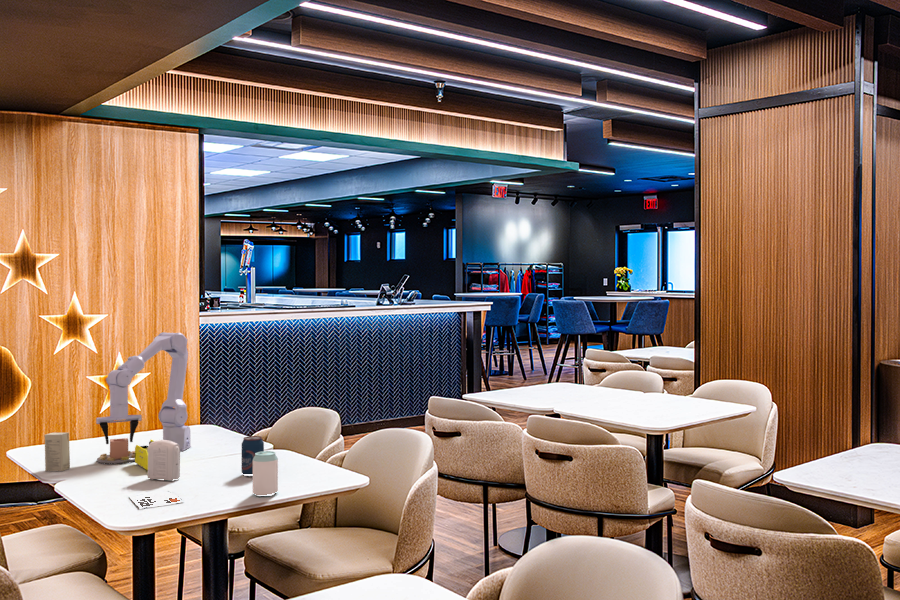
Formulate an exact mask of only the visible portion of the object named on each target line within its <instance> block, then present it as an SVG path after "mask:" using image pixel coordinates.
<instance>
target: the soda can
mask: <svg viewBox="0 0 900 600" xmlns="http://www.w3.org/2000/svg"><path fill="white" fill-rule="evenodd" d="M264 444H265V442H264V440H263V437H262V436H259V435H256V436H255V435H254V436H253V435H249V436H245V437H243V440H242V442H241V474H242V473H243V474H253V458H254V456H255V453H257V452H263V451H265V447H264V446H265V445H264ZM243 474H242V475H243Z"/></svg>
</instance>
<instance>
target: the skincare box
mask: <svg viewBox="0 0 900 600" xmlns="http://www.w3.org/2000/svg"><path fill="white" fill-rule="evenodd" d="M70 451H71V450H70V432H50V433H46V434H44V462H45V464H44V468H45V472H64V471H67V470H69V469H71V461H70V460H71V459H70V454H71V452H70Z"/></svg>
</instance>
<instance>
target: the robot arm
mask: <svg viewBox="0 0 900 600" xmlns="http://www.w3.org/2000/svg"><path fill="white" fill-rule="evenodd" d="M187 345H188V338H187V337H186V336H185V335H184V333H182V332H164V331H163V332H161V333H159V334H158V335H157V336H155V337H154V338H153V341H152V342H151V343H149V345H147V347H145V348H144V349H143V350H142V351H141V352H140V353H139V354H138V355H133V356H128V358H127V360H126V361H125V362H123V364H121V365H119V366H118V367H117V369H113V370H111V371H110V372H109V373H108V375H107V377H106V378H105V381H106V384H107V385H108V386H109V387H108V389H109V406H110V407H109V416H102V417H101V416H100V417H96V419H95V421H96V422H95V423H96V425H99V426H100V428H101V430H102V433H103V435H104V438H105V444H106V445H110V439H109V424H112V423H126V422H129V443H133V440H134V435H135V432H136V430H137V428H138V425H139V422H142V418H143V417H142V414H129V388H128V387H129V385H130V384H131V382H132V380H133V378H134V377H135V376H136V375H137V374H138V373H140V371H142V370H143V369H144V368H145V363H147V362H148V360H150V359H151V358H153V357H155V355H156V354H158V353H160V352H161V351H164V352H166V353H167V354H168V355H169V356H170V357H171V358H172V359H171V365H170V366H171V367H170V372H169V373H170V374H169V381H168V382H169V383H168V389H167V396H166V397H167V398H166V400H164V402H163V403H162V405H161V408H160V410H159V412H158V419H159V422H160V423H161V426H162V440H169V441H173V442H175V443H177V444H178V445H179V447H180V452H183V451H186V450H188V449H190V448H192V445H191V428H190V426H188V425H185V423H187V420H188V418H189V417H188V411H187V407H188V406H187V404H186V403H185V401H184V400H183V398H184V397H183V396H184V391H185V384H186V383H185V382H186V375H187V369H188V368H187V366H188V358H189V351H188V346H187Z"/></svg>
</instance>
